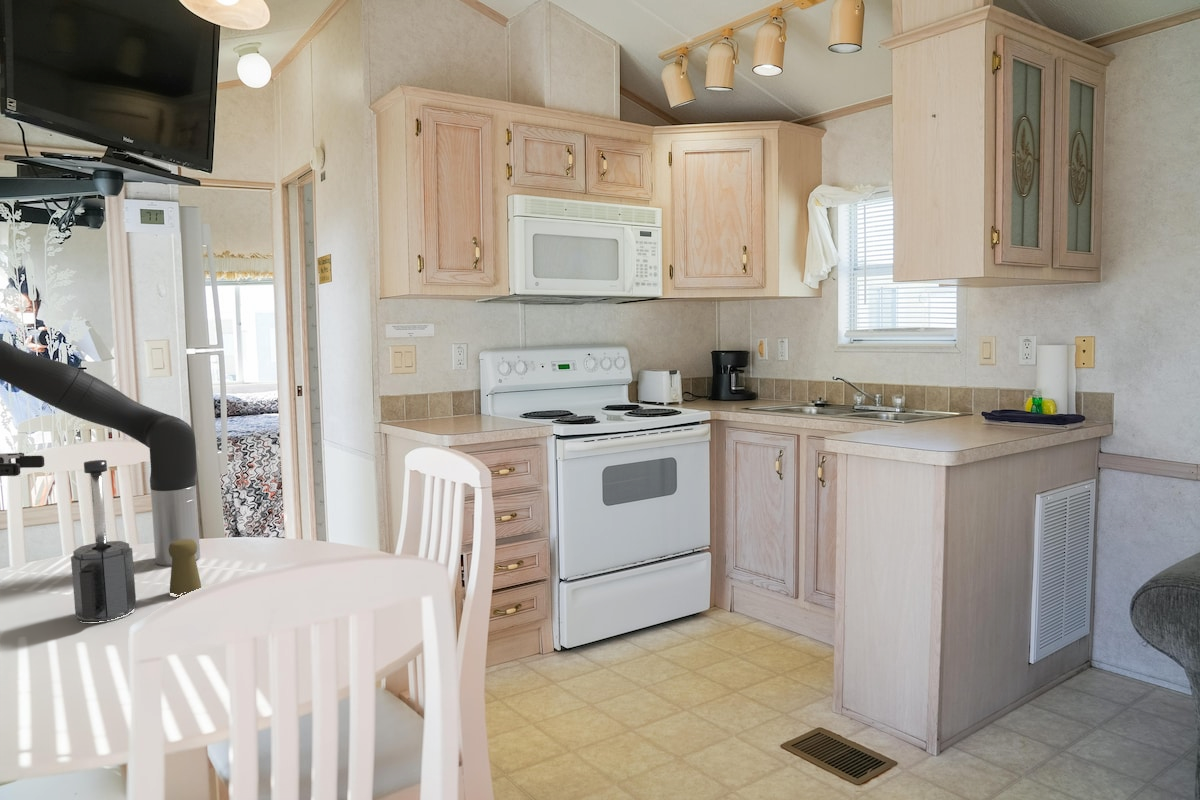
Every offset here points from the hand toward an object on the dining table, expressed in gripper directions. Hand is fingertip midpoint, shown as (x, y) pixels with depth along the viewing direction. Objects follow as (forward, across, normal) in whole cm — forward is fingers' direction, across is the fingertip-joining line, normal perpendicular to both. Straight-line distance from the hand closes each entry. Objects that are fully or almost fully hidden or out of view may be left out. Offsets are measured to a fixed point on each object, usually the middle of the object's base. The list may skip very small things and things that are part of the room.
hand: (31, 465), depth 153 cm
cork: (+23, +8, +28) cm, 38 cm away
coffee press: (+13, -3, +29) cm, 31 cm away
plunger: (+12, -2, +20) cm, 24 cm away
